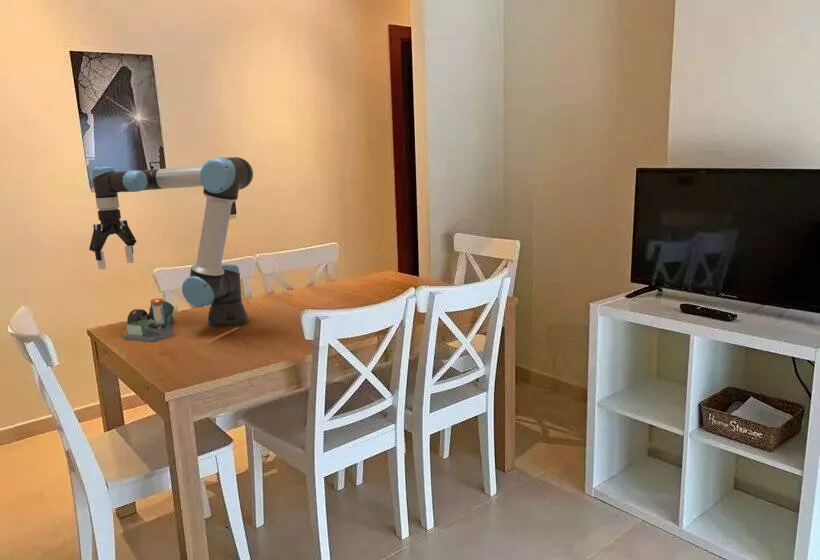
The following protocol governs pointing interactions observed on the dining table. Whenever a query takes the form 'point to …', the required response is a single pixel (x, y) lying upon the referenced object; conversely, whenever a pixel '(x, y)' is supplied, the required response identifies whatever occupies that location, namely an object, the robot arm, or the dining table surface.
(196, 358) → the dining table surface
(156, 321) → the pin
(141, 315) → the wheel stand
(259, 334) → the dining table surface
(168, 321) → the dark teal rounded block
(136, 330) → the grey base plate
